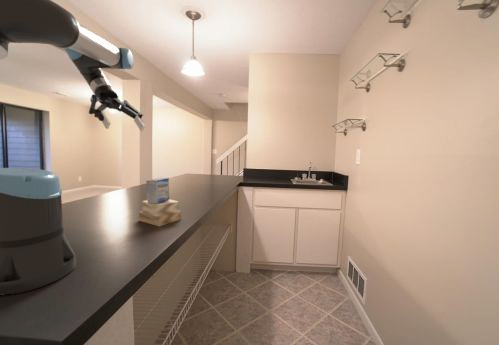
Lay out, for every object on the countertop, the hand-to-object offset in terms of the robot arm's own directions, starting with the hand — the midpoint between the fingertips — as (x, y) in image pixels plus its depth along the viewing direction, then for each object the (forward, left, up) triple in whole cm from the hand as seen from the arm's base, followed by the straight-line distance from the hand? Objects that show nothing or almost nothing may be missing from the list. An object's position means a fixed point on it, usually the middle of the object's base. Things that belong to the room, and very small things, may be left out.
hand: (126, 127), depth 90 cm
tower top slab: (+4, -13, -32) cm, 35 cm away
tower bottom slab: (+4, -13, -36) cm, 39 cm away
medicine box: (+4, -12, -28) cm, 31 cm away
